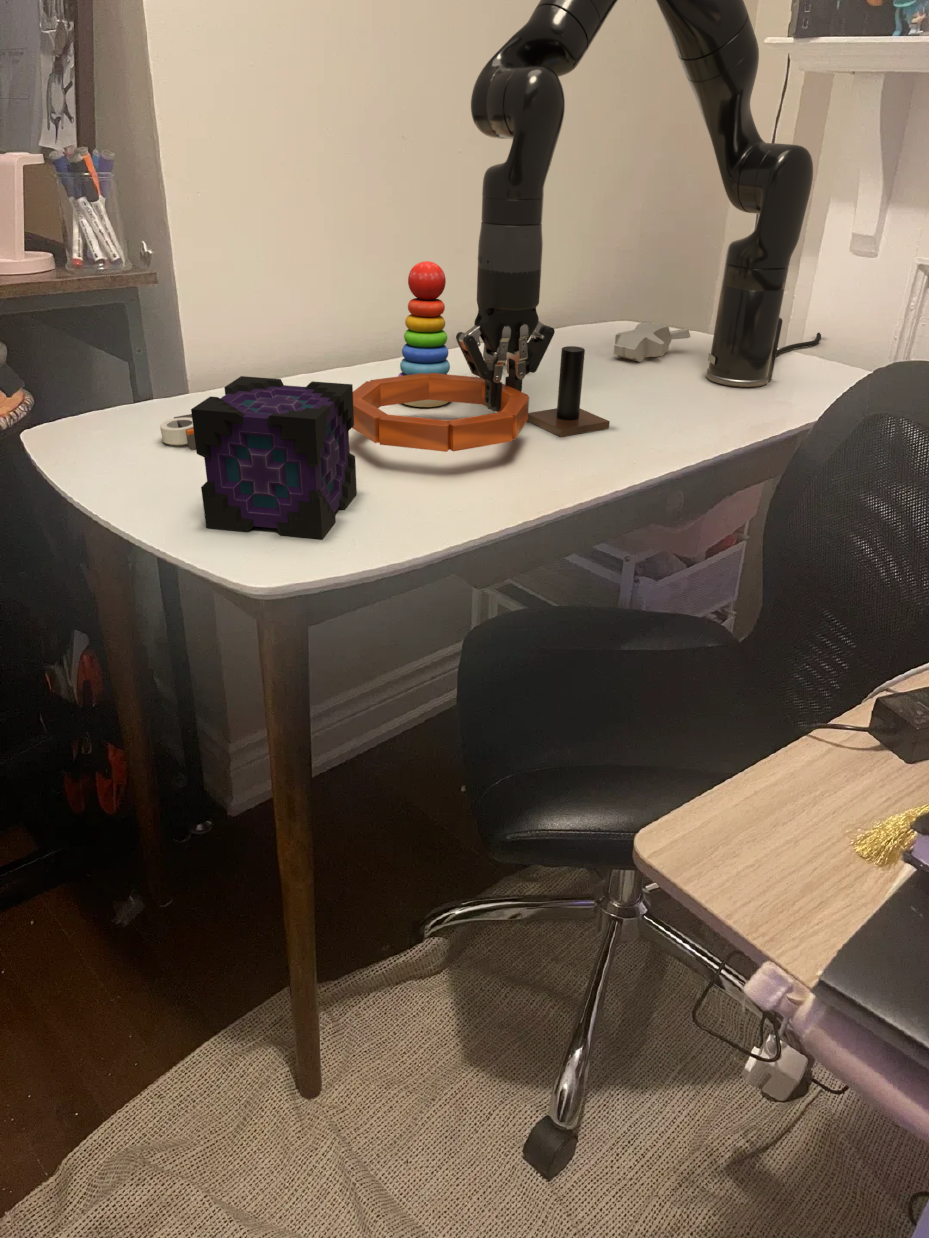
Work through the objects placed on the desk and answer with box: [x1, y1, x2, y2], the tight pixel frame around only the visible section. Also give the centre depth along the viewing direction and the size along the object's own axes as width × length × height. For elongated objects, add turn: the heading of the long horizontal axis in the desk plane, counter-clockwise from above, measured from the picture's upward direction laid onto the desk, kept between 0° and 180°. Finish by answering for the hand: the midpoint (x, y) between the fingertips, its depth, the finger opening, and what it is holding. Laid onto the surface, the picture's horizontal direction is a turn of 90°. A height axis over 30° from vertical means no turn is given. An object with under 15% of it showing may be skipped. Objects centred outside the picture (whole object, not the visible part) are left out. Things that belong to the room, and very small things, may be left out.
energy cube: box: [190, 375, 358, 540], centre depth 91 cm, size 12×12×12 cm
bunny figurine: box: [613, 321, 691, 363], centre depth 155 cm, size 10×5×15 cm
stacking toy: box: [397, 260, 451, 408], centre depth 124 cm, size 8×8×19 cm
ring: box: [351, 373, 530, 453], centre depth 110 cm, size 21×21×3 cm
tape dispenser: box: [159, 413, 196, 450], centre depth 113 cm, size 7×3×15 cm
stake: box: [527, 345, 610, 438], centre depth 119 cm, size 8×8×10 cm
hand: (502, 408), depth 115 cm, fingers closed on ring, 2 cm apart
